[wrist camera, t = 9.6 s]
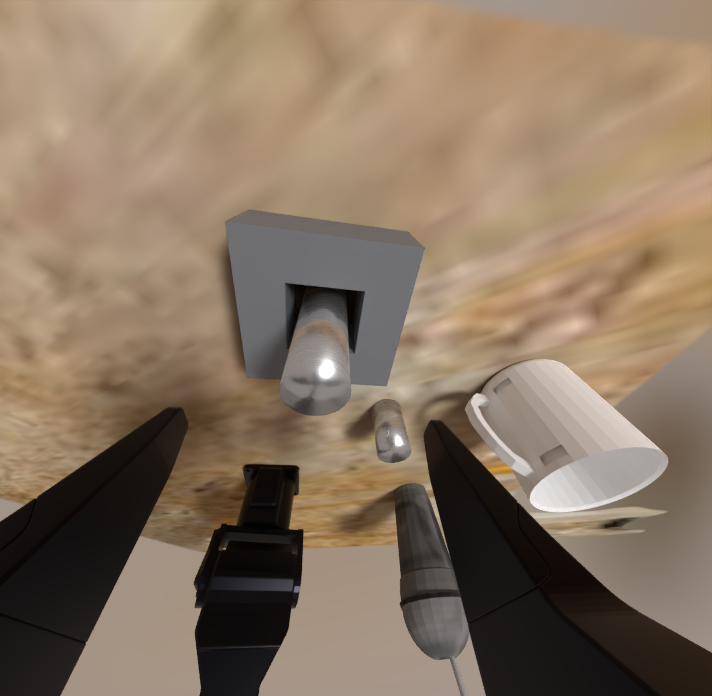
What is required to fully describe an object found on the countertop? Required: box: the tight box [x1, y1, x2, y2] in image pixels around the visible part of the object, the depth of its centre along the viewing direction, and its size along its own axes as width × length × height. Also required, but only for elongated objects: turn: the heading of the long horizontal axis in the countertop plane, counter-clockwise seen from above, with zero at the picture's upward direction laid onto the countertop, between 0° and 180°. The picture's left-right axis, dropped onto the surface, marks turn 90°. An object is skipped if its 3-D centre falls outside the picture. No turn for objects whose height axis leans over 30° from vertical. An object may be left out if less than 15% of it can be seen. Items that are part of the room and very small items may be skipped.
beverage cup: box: [394, 484, 469, 696], centre depth 29 cm, size 7×7×20 cm
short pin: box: [372, 399, 411, 463], centre depth 25 cm, size 3×3×5 cm
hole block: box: [225, 210, 425, 386], centre depth 17 cm, size 10×10×4 cm
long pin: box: [279, 285, 351, 416], centre depth 15 cm, size 3×3×10 cm
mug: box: [465, 359, 668, 512], centre depth 22 cm, size 12×9×9 cm
